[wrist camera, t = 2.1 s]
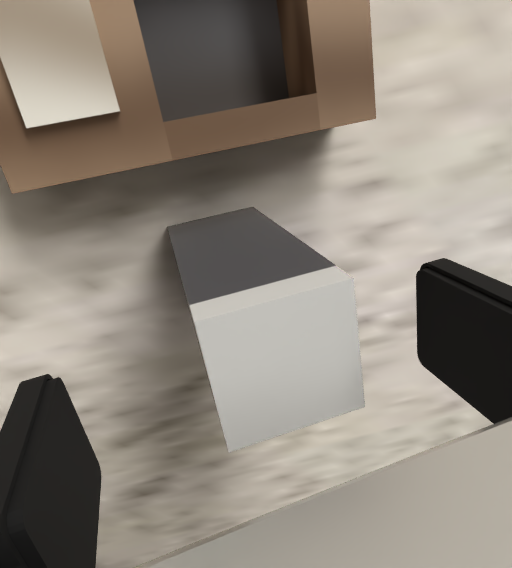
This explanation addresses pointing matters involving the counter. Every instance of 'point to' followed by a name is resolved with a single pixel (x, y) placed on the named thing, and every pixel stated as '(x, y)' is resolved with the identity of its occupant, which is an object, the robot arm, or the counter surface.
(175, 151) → the socket block
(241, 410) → the plug
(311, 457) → the counter surface
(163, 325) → the counter surface
